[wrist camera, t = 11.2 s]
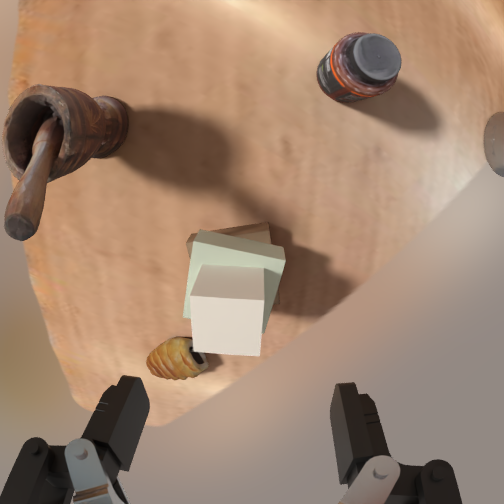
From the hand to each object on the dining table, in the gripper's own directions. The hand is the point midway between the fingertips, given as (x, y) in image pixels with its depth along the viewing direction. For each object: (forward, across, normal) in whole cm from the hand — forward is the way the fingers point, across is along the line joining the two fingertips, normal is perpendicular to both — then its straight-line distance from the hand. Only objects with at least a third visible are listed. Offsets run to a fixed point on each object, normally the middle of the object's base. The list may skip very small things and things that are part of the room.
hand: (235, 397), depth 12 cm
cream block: (+19, +2, +6) cm, 20 cm away
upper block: (+22, +2, +6) cm, 23 cm away
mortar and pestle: (+25, +16, -11) cm, 32 cm away
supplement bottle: (+26, -10, -16) cm, 32 cm away
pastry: (+26, +12, +21) cm, 35 cm away
